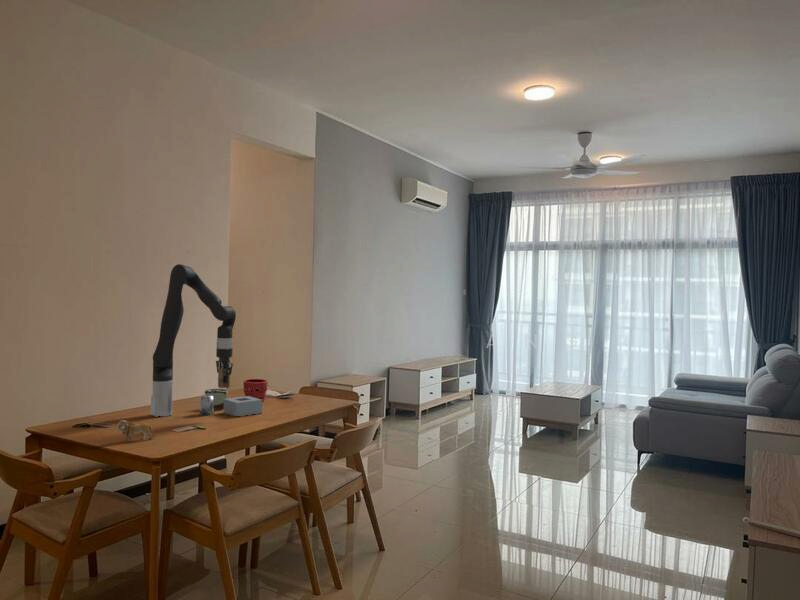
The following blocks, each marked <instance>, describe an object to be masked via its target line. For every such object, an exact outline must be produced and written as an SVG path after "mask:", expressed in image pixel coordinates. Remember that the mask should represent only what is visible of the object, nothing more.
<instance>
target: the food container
mask: <svg viewBox="0 0 800 600" xmlns="http://www.w3.org/2000/svg"><path fill="white" fill-rule="evenodd" d="M228 393H229V392H228V390H227V388H209V389H205V390H204V394H203V395H213V396H214V410H218V409H224V399H227V395H229V394H228Z"/></svg>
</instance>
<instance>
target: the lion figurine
mask: <svg viewBox="0 0 800 600" xmlns="http://www.w3.org/2000/svg"><path fill="white" fill-rule="evenodd" d="M152 429H153V428H152V427H151V425H150V424H149V423H147V422H144V423H140V424H134V423H133V422H131V421H128V420H126V419H121V420H119V422H117V430H118V432H119V433H121V434H122V435H125V437H126V439H125V440H126V441H125V442H127V443H131V442H132V438H133V437H132V436H133V434H134V435H137V434H140V433H141V432H142V433H143V436H142V437H141V438H140V439H141V440H144V439H146V437H147V436H149V438H148V440H149V439H151V440H153V437H154V438H155V437H156V435H154V434H153V430H152ZM127 440H128V441H127ZM130 441H131V442H130Z"/></svg>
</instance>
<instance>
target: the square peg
mask: <svg viewBox="0 0 800 600" xmlns="http://www.w3.org/2000/svg"><path fill="white" fill-rule="evenodd" d="M229 371H230V370H229ZM225 372H226V371H225ZM217 376H218V377H217V387H218V389H229V388H230V382H231V380H230V379H231V378H230V377H231V375H228V383H226V384H224V383H223V379H224V374H223V369H222V368H221V369H218V375H217Z"/></svg>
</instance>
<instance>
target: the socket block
mask: <svg viewBox="0 0 800 600" xmlns="http://www.w3.org/2000/svg"><path fill="white" fill-rule="evenodd" d="M223 413H224V414H226V413H227V415H229V414H230V415H229V416H232V415H233V416H232V417H234V416H236V417H235V418H238V417H237V416H241V417H246V416H245V415H248V416H253V415H252V414H256V415H260V414H259V413H262V414H263V402H262V400H261V399H257V398H254V397H250V396H245V395H244V396H238V397H230V398H226V399H224V410H223Z"/></svg>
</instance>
